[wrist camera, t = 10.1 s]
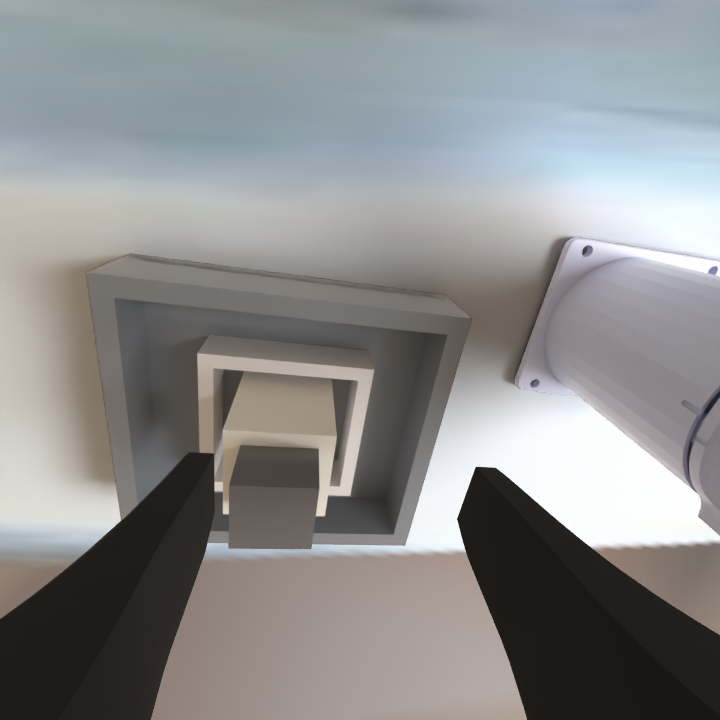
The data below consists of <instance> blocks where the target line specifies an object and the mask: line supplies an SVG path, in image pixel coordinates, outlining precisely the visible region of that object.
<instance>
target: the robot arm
mask: <svg viewBox="0 0 720 720" xmlns="http://www.w3.org/2000/svg"><path fill="white" fill-rule="evenodd" d="M585 246H587V251H586V253H585V254H583V255H582V250H583V248H584V247H585ZM709 269H710V271H709V272H708V270H709ZM534 379H536V381H535V382H534V383H533V384H530V383H531V382H532V381H533V380H534ZM515 385H516V386H517V387H518V388H519V389H520V390H525V391H536V392H547V393H559V394H570V395H578V396H579V397H580V398H582V399H583V400H584V401H585V402H587V403H588V404H589V405H590V406H591V407H593V408H594V409H595V410H596V411H598V412H599V413H600V414H601V415H602V416H604V417H605V418H606V419H607V420H609V421H610V422H611V423H612V424H613V425H615V426H616V427H617V428H618V429H620V430H621V431H622V432H623V433H624V434H626V435H627V436H628V437H629V438H631V439H632V440H633V441H634V442H635V443H637V444H638V445H639V446H640V447H641V448H643V449H644V450H645V451H646V452H648V453H649V454H650V455H651V456H652V457H654V458H655V459H656V460H657V461H659V462H660V463H661V464H662V465H663V466H665V467H666V468H667V469H668V470H670V471H671V472H672V473H673V474H674V475H676V476H677V477H678V478H679V479H681V480H682V481H683V482H684V483H685V484H687V485H688V486H689V487H690V488H692V489H693V490H694V491H695V492H696V493H698V495H699V496H700V498H701V508H700V511H699V514H698V517H699V518H700V519H702V520H703V521H704V522H705V523H706V524H707V525H708V526H709V527H711V528H712V529H713V530H714V531H715V532H716V533H717V534H719V535H720V261H716V260H710V259H704V258H698V257H692V256H686V255H680V254H674V253H668V252H662V251H656V250H650V249H644V248H638V247H632V246H626V245H620V244H614V243H608V242H602V241H596V240H590V239H584V238H578V237H574V238H571V239H569V240H568V241H567V242H566V243H565V245H564V247H563V250H562V252H561V255H560V258H559V261H558V263H557V266H556V269H555V271H554V274H553V277H552V280H551V282H550V285H549V288H548V290H547V293H546V296H545V299H544V301H543V304H542V307H541V309H540V312H539V315H538V318H537V320H536V323H535V326H534V328H533V331H532V334H531V337H530V339H529V342H528V345H527V347H526V350H525V353H524V356H523V358H522V361H521V364H520V366H519V369H518V372H517V375H516V377H515ZM214 513H215V479H214V453H197V452H189V453H188V454H186V455H185V456H184V457H183V458H182V459H181V460H180V461H179V463H178V464H177V465H176V466H175V467H174V468H173V469H172V470H171V471H170V472H169V473H168V474H167V476H166V477H165V478H164V479H163V480H162V481H161V482H160V483H159V484H158V485H157V486H156V487H155V488H154V489H153V490H152V491H151V492H150V493H149V494H148V495H147V496H146V497H145V498H144V499H143V500H142V501H141V502H140V503H139V504H138V505H137V506H136V507H135V508H134V509H133V510H132V511H131V512H130V513H129V514H128V515H127V516H126V517H125V518H124V519H123V520H121V521H120V522H119V523H118V524H117V525H116V526H115V527H114V528H113V529H111V530H110V531H109V532H108V533H107V534H106V535H105V536H104V537H103V538H101V539H100V540H99V541H98V542H97V543H96V544H95V545H94V546H93V547H91V548H90V549H89V550H88V551H87V552H86V553H84V554H83V555H82V556H81V557H80V558H79V559H77V560H76V561H75V562H74V563H73V564H71V565H70V566H69V567H68V568H66V569H65V570H64V571H63V572H62V573H60V574H59V575H58V576H57V577H55V578H54V579H53V580H52V581H50V582H49V583H48V584H47V585H45V586H44V587H43V588H42V589H40V590H39V591H38V592H36V593H35V594H34V595H32V596H31V597H30V598H28V599H27V600H26V601H24V602H23V603H22V604H20V605H19V606H17V607H16V608H15V609H13V610H12V611H11V612H9V613H8V614H7V615H5V616H4V617H3V618H1V619H0V720H151V717H152V713H153V709H154V705H155V701H156V698H157V694H158V690H159V686H160V683H161V679H162V676H163V672H164V669H165V666H166V663H167V659H168V656H169V653H170V650H171V647H172V644H173V641H174V639H175V636H176V633H177V630H178V628H179V624H180V621H181V619H182V616H183V613H184V611H185V607H186V605H187V602H188V599H189V597H190V594H191V591H192V588H193V585H194V583H195V580H196V577H197V574H198V571H199V568H200V565H201V563H202V560H203V557H204V554H205V551H206V547H207V542H208V538H209V534H210V530H211V526H212V521H213V517H214ZM457 520H458V524H459V528H460V532H461V536H462V539H463V543H464V546H465V550H466V553H467V556H468V559H469V561H470V564H471V566H472V569H473V571H474V574H475V576H476V579H477V581H478V584H479V586H480V589H481V591H482V594H483V596H484V599H485V601H486V603H487V606H488V608H489V611H490V613H491V616H492V618H493V620H494V623H495V625H496V628H497V630H498V633H499V635H500V637H501V640H502V642H503V645H504V648H505V651H506V653H507V656H508V659H509V661H510V665H511V668H512V671H513V674H514V678H515V680H516V684H517V687H518V690H519V694H520V697H521V700H522V703H523V706H524V710H525V713H526V717H527V720H720V635H719V634H717V633H715V632H714V631H712V630H710V629H709V628H707V627H705V626H704V625H702V624H701V623H699V622H697V621H695V620H694V619H693V618H691V617H689V616H688V615H686V614H685V613H683V612H681V611H680V610H678V609H676V608H675V607H673V606H672V605H670V604H669V603H667V602H666V601H664V600H663V599H661V598H660V597H658V596H657V595H655V594H654V593H652V592H651V591H649V590H648V589H647V588H645V587H644V586H642V585H641V584H639V583H638V582H637V581H635V580H634V579H632V578H631V577H629V576H628V575H627V574H625V573H624V572H622V571H621V570H619V569H618V568H617V567H616V566H614V565H613V564H611V563H610V562H609V561H607V560H606V559H605V558H603V557H602V556H601V555H600V554H598V553H597V552H596V551H595V550H593V549H592V548H591V547H590V546H588V545H587V544H586V543H584V542H583V541H582V540H581V539H579V538H578V537H577V536H576V535H574V534H573V533H572V532H571V531H570V530H568V529H567V528H566V527H565V526H564V525H562V524H561V523H560V522H559V521H558V520H556V519H555V518H554V517H553V516H552V515H551V514H549V513H548V512H547V511H546V510H545V509H544V508H542V507H541V506H540V505H539V504H538V503H537V502H536V501H534V500H533V499H532V498H531V497H530V496H529V495H527V494H526V493H525V492H524V491H523V490H522V489H521V488H519V487H518V486H517V485H516V484H515V483H514V482H512V481H511V480H510V479H509V478H508V477H506V476H505V475H504V474H503V473H501V472H500V471H499V470H498V469H496V468H488V467H476V468H475V471H474V474H473V476H472V479H471V482H470V485H469V488H468V490H467V493H466V496H465V499H464V501H463V504H462V507H461V510H460V513H459V515H458V518H457Z"/></svg>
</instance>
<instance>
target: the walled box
mask: <svg viewBox="0 0 720 720" xmlns="http://www.w3.org/2000/svg"><path fill="white" fill-rule="evenodd" d="M86 278H87V285H88V292H89V299H90V306H91V313H92V320H93V327H94V334H95V341H96V348H97V355H98V362H99V369H100V376H101V383H102V390H103V397H104V404H105V411H106V417H107V424H108V431H109V438H110V445H111V452H112V459H113V466H114V473H115V480H116V487H117V494H118V501H119V508H120V515H121V520H123V519H124V518H125V517H126V516H127V515H128V514H129V513H130V512H131V511H132V510H133V509H134V508H135V507H136V506H137V505H138V504H139V503H140V502H141V501H142V500H143V499H144V498H145V497H146V496H147V495H148V494H149V493H150V492H151V491H152V490H153V489H154V488H155V487H156V486H157V485H158V484H159V483H160V482H161V481H162V480H163V479H164V478H165V477H166V476H167V474H168V473H169V472H170V471H171V470H172V469H173V468H174V467H175V466H176V465H177V464H178V463H179V461H180V460H181V459H182V458H183V457H184V456H185V455H186V454H188V453H189V452H197V453H214V479H215V513H214V517H213V521H212V526H211V530H210V534H209V538H208V542H207V543H229V514H223V428H224V425H225V422H226V420H227V417H228V414H229V411H230V409H231V406H232V403H233V400H234V398H235V395H236V392H237V389H238V387H239V384H240V381H241V378H242V376H243V373H244V371H252V372H263V373H275V374H286V375H298V376H309V377H321V378H332V387H333V398H334V409H335V421H336V432H337V439H336V446H335V452H334V459H333V466H332V472H331V479H330V486H329V492H328V499H327V506H326V512H325V516H316V518H315V525H314V532H313V540H312V544H335V545H405V544H406V541H407V537H408V534H409V531H410V527H411V524H412V520H413V517H414V514H415V510H416V507H417V503H418V500H419V496H420V493H421V490H422V486H423V483H424V479H425V476H426V473H427V469H428V466H429V462H430V459H431V456H432V452H433V449H434V445H435V442H436V438H437V435H438V432H439V428H440V425H441V421H442V418H443V415H444V411H445V408H446V404H447V401H448V398H449V394H450V391H451V387H452V384H453V380H454V377H455V374H456V370H457V367H458V363H459V360H460V357H461V353H462V350H463V346H464V343H465V339H466V336H467V333H468V329H469V326H470V322H471V319H472V318H470V317H469V316H468V315H467V314H466V313H465V312H464V311H463V310H461V309H460V308H459V307H458V306H457V305H456V304H455V303H453V302H452V301H451V300H450V299H449V298H448V297H447V296H446V295H444V294H436V293H428V292H421V291H413V290H405V289H398V288H390V287H382V286H375V285H367V284H359V283H352V282H344V281H336V280H329V279H321V278H313V277H305V276H298V275H290V274H282V273H275V272H267V271H259V270H252V269H244V268H236V267H229V266H221V265H213V264H206V263H198V262H190V261H183V260H175V259H167V258H159V257H152V256H144V255H136V254H129V255H126V256H124V257H121V258H119V259H116V260H114V261H112V262H109V263H107V264H104V265H102V266H99V267H97V268H94V269H92V270H89V271H87V272H86Z"/></svg>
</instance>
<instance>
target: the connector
mask: <svg viewBox="0 0 720 720" xmlns="http://www.w3.org/2000/svg"><path fill="white" fill-rule="evenodd" d="M336 439H337V432H336V421H335V409H334V398H333V387H332V378H321V377H309V376H298V375H286V374H275V373H263V372H252V371H244V373H243V376H242V378H241V381H240V384H239V387H238V389H237V392H236V395H235V398H234V400H233V403H232V406H231V409H230V411H229V414H228V417H227V420H226V422H225V425H224V428H223V514H229V548H242V549H311V547H312V540H313V532H314V525H315V518H316V516H325V512H326V506H327V499H328V492H329V486H330V479H331V472H332V466H333V459H334V452H335V446H336Z"/></svg>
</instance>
